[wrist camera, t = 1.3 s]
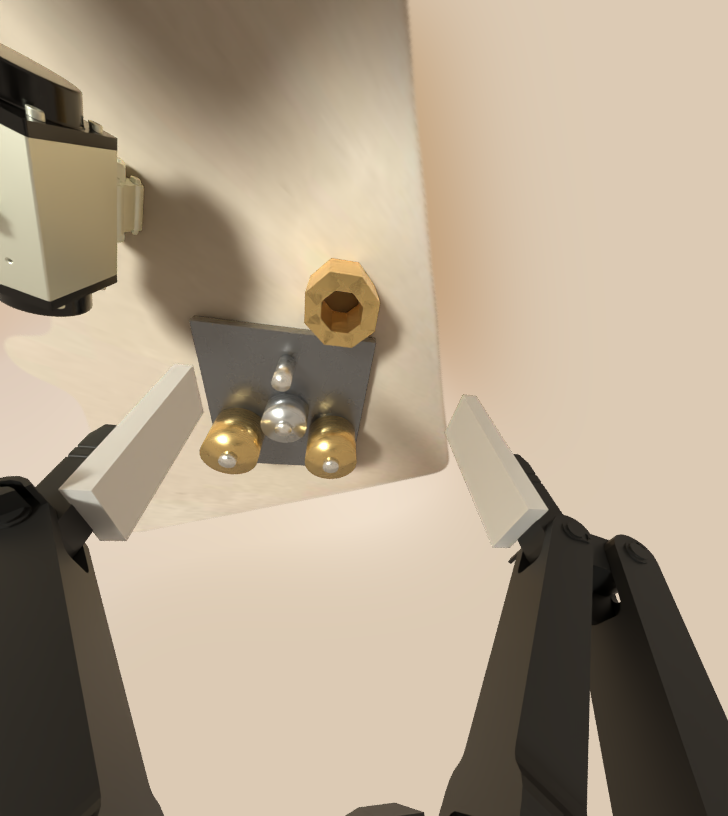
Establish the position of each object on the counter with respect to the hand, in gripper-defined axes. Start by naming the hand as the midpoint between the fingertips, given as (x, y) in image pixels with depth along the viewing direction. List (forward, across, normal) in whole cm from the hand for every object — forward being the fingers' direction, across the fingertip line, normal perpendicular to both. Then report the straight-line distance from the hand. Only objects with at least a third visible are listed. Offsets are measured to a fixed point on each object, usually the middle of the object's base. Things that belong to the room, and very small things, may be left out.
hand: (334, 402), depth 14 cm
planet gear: (+17, 0, 0) cm, 17 cm away
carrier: (+17, -4, -14) cm, 22 cm away
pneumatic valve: (+17, -18, +5) cm, 25 cm away
